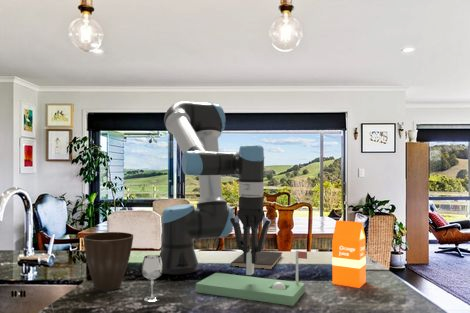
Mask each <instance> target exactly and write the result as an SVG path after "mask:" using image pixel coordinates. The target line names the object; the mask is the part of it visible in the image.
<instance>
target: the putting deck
mask: <svg viewBox="0 0 470 313" xmlns="http://www.w3.org/2000/svg"><path fill="white" fill-rule="evenodd" d="M299 259H303V260H304V259H306V260H307V259H308V252H307V251H299V250H298V249H297V250H295V281H290V280H284V279H283V280H282V279H274V278H272V279H271V278H264V277H255V276H250V275H237V274H230V273H222V272H215V273H213V274H211V275H208V276H207V277H205V278H203V279H202V280H200V281H198V282H196V283H195V293H201V294H207V295H215V296H220V297H227V298H228V297H229V298H236V299H242V300H243V299H244V300H248V301H249V300H250V301H257V302H264V303H270V304H271V303H272V304H279V305H286V306H294V305H296V303H297V302H298V301H299V300H300V298H301V297H302V296H303V294H304V293H305V292H306V282H300V281H299ZM276 282H281V283H283V284H284V285H285V288H286V290H279V289H272V286H273V284H274V283H276Z"/></svg>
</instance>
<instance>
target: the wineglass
mask: <svg viewBox="0 0 470 313" xmlns="http://www.w3.org/2000/svg"><path fill="white" fill-rule="evenodd" d="M159 255H160V254H150V255H144V257H143V260H142V264H141V273H142V276H143V277H144V278H146V279H148V280H150V287H151V289H150V292H151V294H150V296H147V297H145V298H144V299H143V301H144V302H146V303H147V302H148V303H154V302H158V301H160V299H161V298H160V296H155V295H154V285H155V281H154V280H157V279H158V278H160V277H161V276H162V275H163V273H162V270H163V265H162V259H161V256H159Z"/></svg>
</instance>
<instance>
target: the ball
mask: <svg viewBox="0 0 470 313" xmlns="http://www.w3.org/2000/svg"><path fill="white" fill-rule="evenodd" d="M272 289H279V290H286V288H285V285H284V284H283V283H281V282H276V283H274V284H273V286H272Z"/></svg>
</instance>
